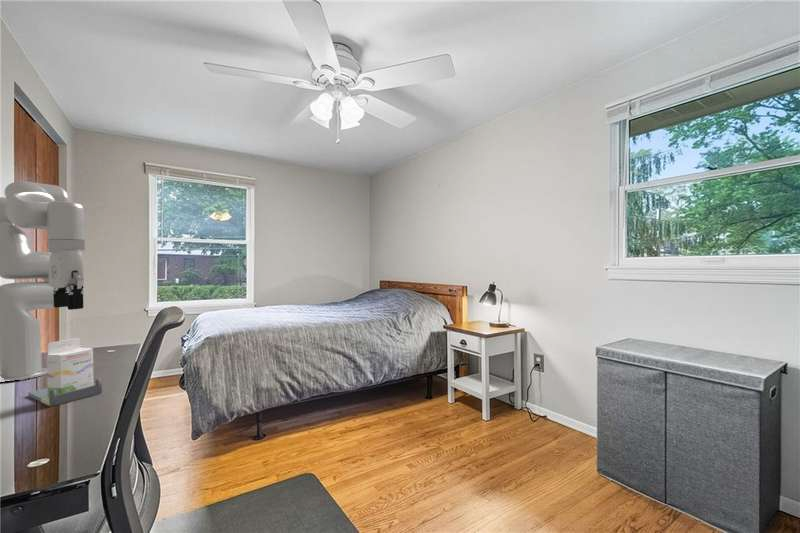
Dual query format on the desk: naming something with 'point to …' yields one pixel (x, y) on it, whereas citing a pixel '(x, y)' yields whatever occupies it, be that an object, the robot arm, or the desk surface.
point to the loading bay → (66, 394)
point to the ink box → (69, 366)
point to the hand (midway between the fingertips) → (68, 307)
